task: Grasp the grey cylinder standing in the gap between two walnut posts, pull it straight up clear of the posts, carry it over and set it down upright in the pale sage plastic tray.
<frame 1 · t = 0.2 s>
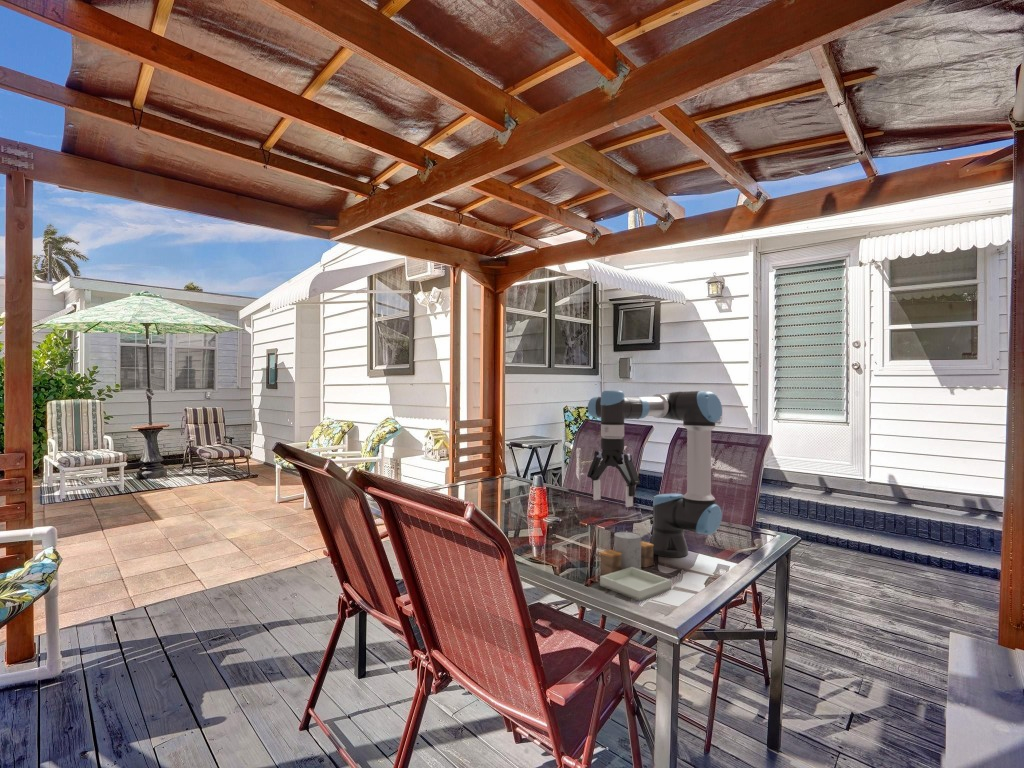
hand: (612, 503, 163), 27 cm above the table, fingers open, 13 cm apart
grey cylinder: (627, 570, 180), on the table
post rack: (627, 569, 180), on the table
tray: (635, 587, 162), on the table
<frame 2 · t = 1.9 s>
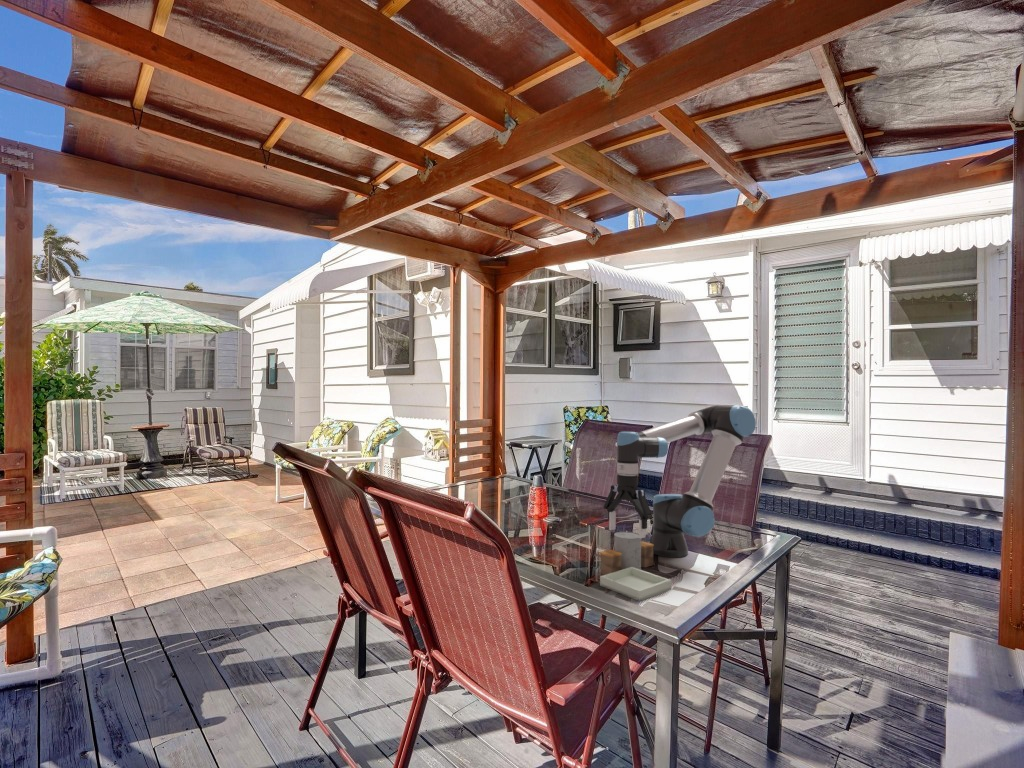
hand: (626, 533, 180), 13 cm above the table, fingers open, 13 cm apart
nothing on the table moved.
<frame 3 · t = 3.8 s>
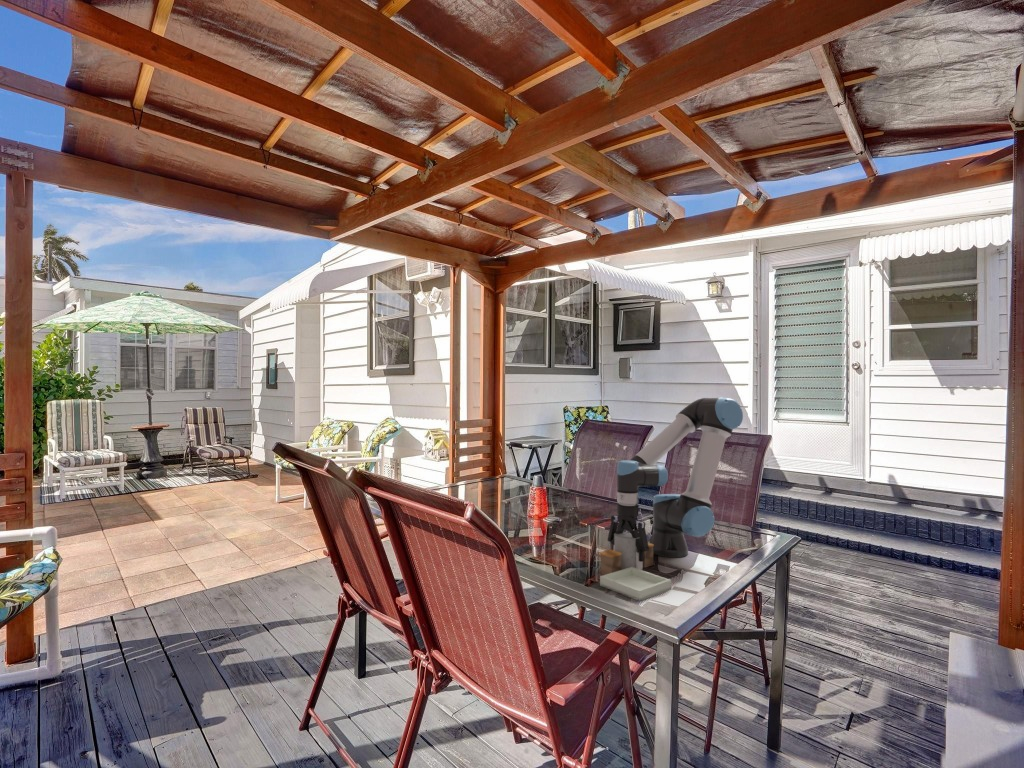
hand: (627, 566, 180), 1 cm above the table, fingers closed on grey cylinder, 9 cm apart
grey cylinder: (627, 569, 180), on the table, touching gripper
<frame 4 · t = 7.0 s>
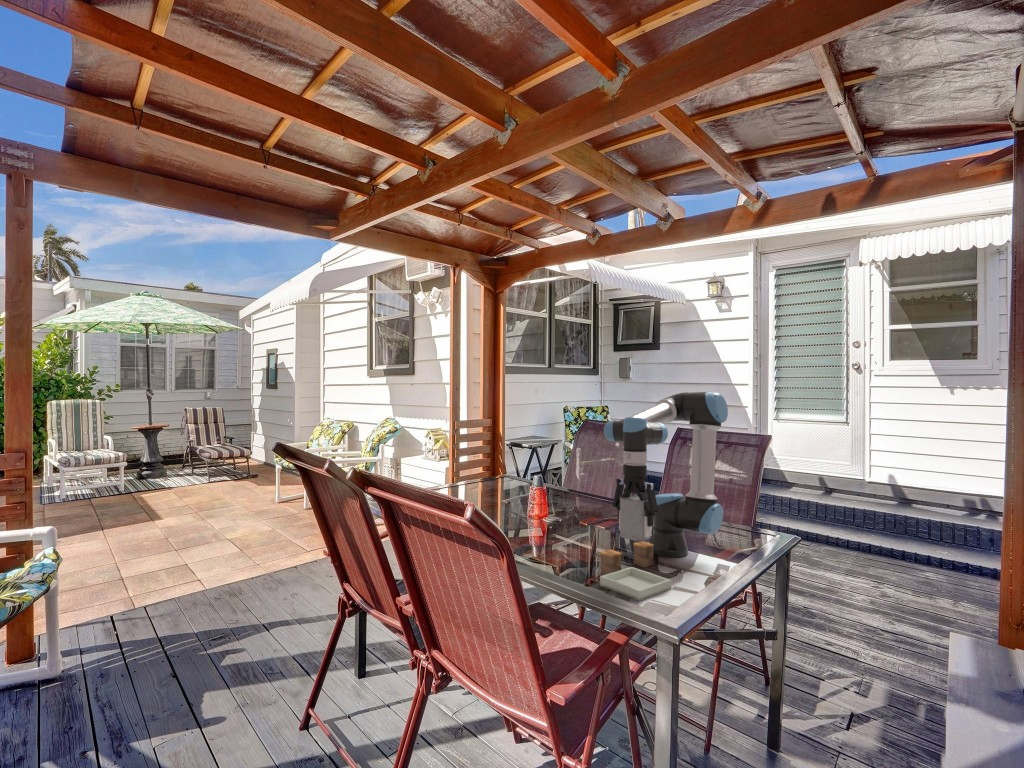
hand: (634, 532, 163), 18 cm above the table, fingers closed on grey cylinder, 9 cm apart
grey cylinder: (634, 536, 163), point 16 cm above the table, touching gripper
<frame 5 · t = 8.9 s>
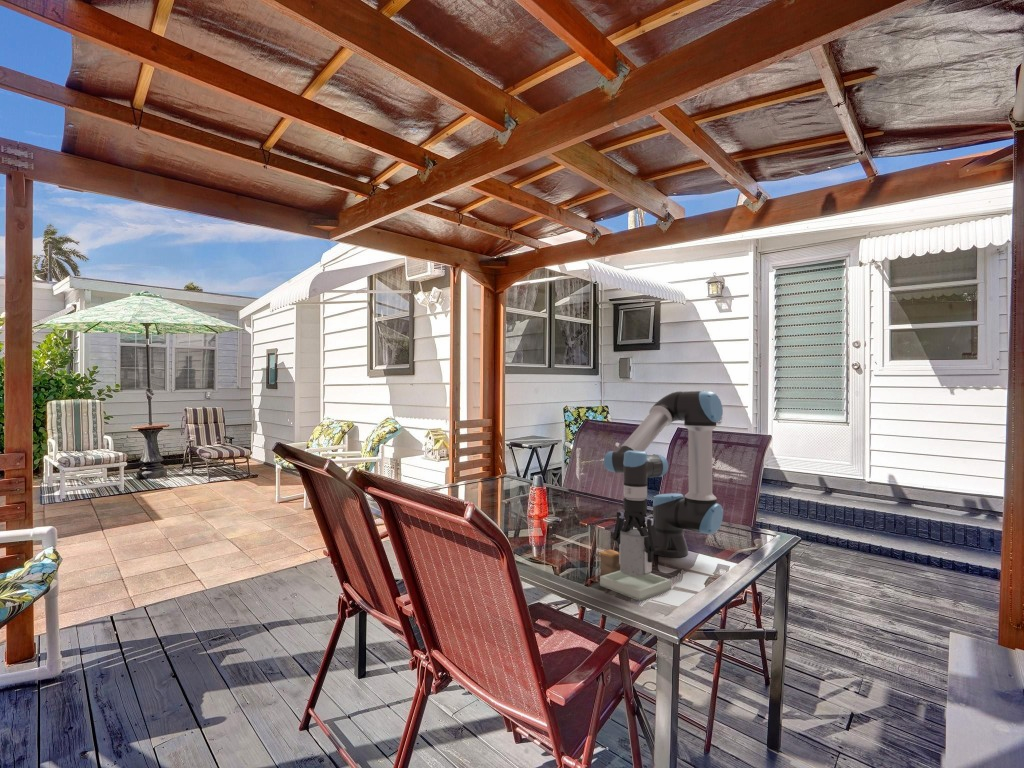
hand: (635, 567, 162), 6 cm above the table, fingers closed on grey cylinder, 9 cm apart
grey cylinder: (635, 571, 162), point 5 cm above the table, touching gripper
when the fingers open (3 cm above the table, at t = 10.5 s): grey cylinder drops 1 cm, resting on tray.
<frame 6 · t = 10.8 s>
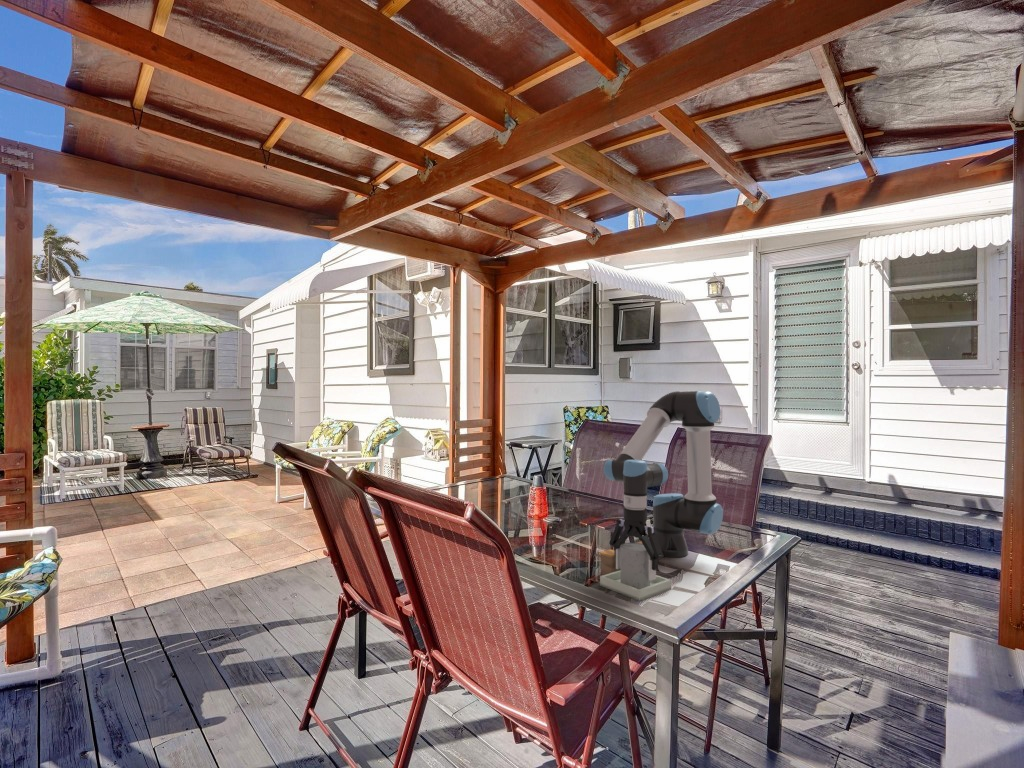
hand: (635, 573, 162), 4 cm above the table, fingers open, 13 cm apart
grey cylinder: (635, 585, 162), point 1 cm above the table, touching tray
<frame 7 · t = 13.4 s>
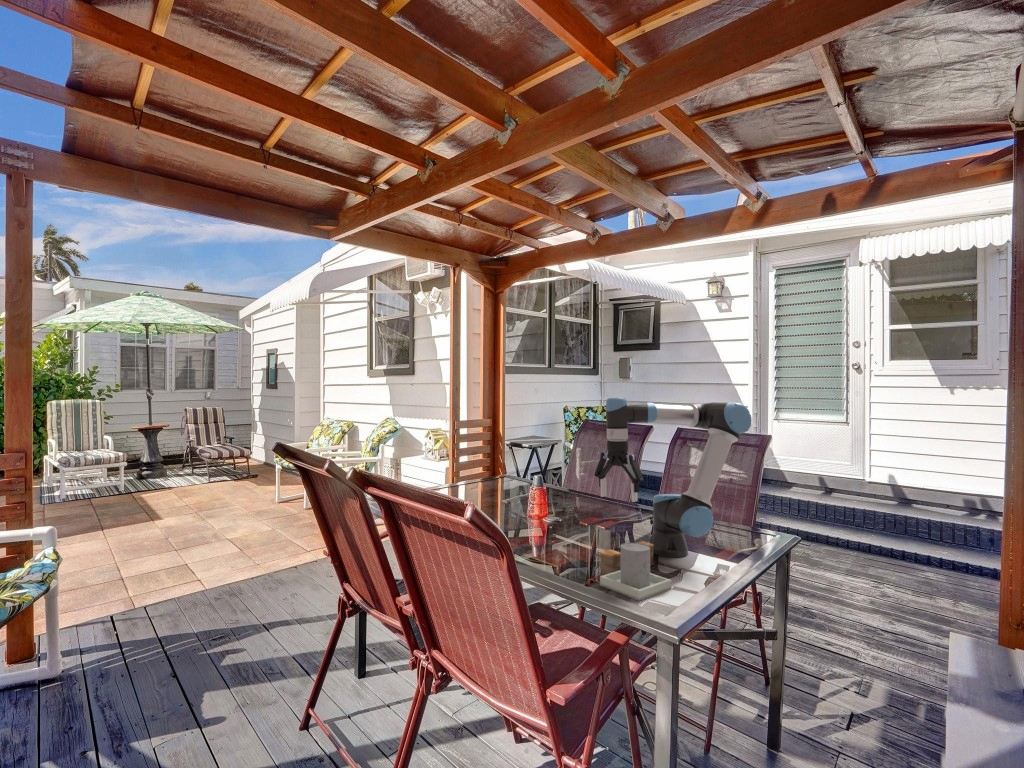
hand: (618, 498, 181), 25 cm above the table, fingers open, 13 cm apart
nothing on the table moved.
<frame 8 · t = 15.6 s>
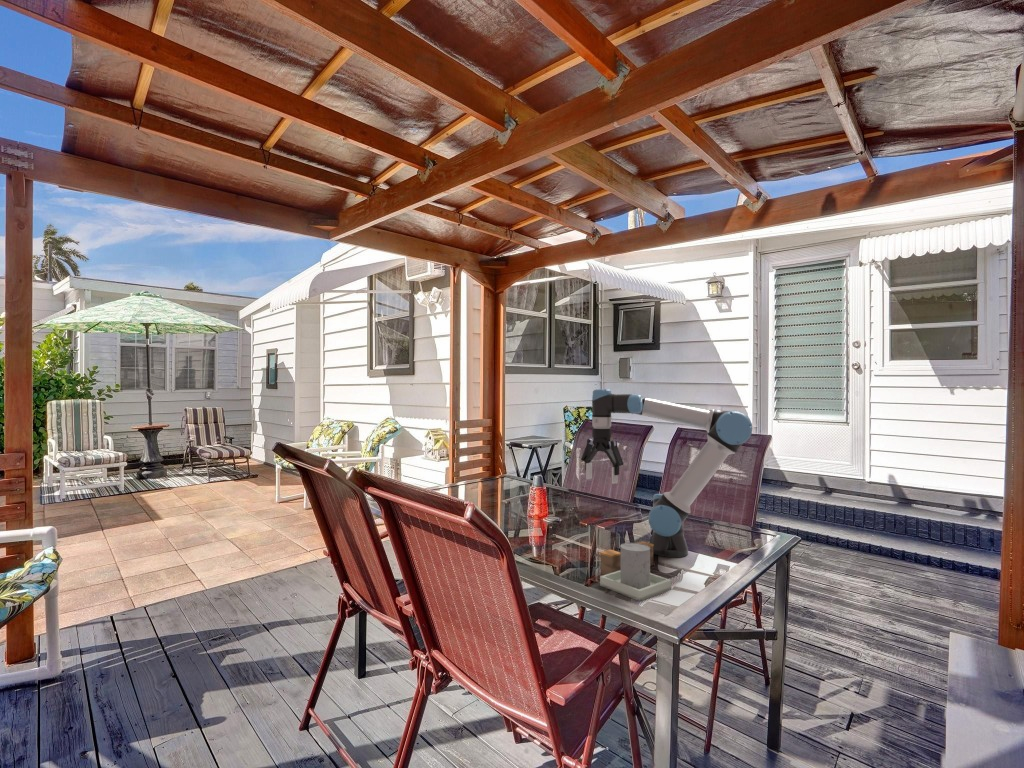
hand: (601, 481, 199), 29 cm above the table, fingers open, 13 cm apart
nothing on the table moved.
at the end: grey cylinder inside the target area on the tray (0.0 cm from its centre), point 0.6 cm above the tray's base; grey cylinder tilted 0°; the gripper is holding nothing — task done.
